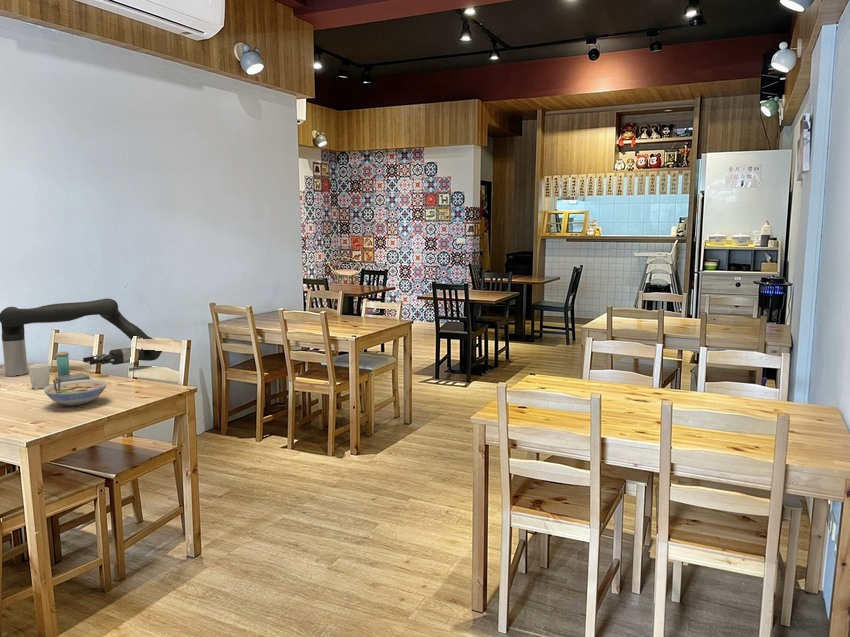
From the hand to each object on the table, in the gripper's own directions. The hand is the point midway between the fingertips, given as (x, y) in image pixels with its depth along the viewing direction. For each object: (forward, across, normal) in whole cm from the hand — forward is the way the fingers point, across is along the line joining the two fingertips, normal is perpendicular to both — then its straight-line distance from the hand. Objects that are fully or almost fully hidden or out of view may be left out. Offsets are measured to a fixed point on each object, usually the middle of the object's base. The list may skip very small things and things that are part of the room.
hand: (86, 361), depth 299 cm
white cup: (+22, +8, +7) cm, 25 cm away
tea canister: (+10, 0, +7) cm, 13 cm away
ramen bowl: (+20, +49, +8) cm, 54 cm away
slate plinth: (+10, +12, +7) cm, 17 cm away
